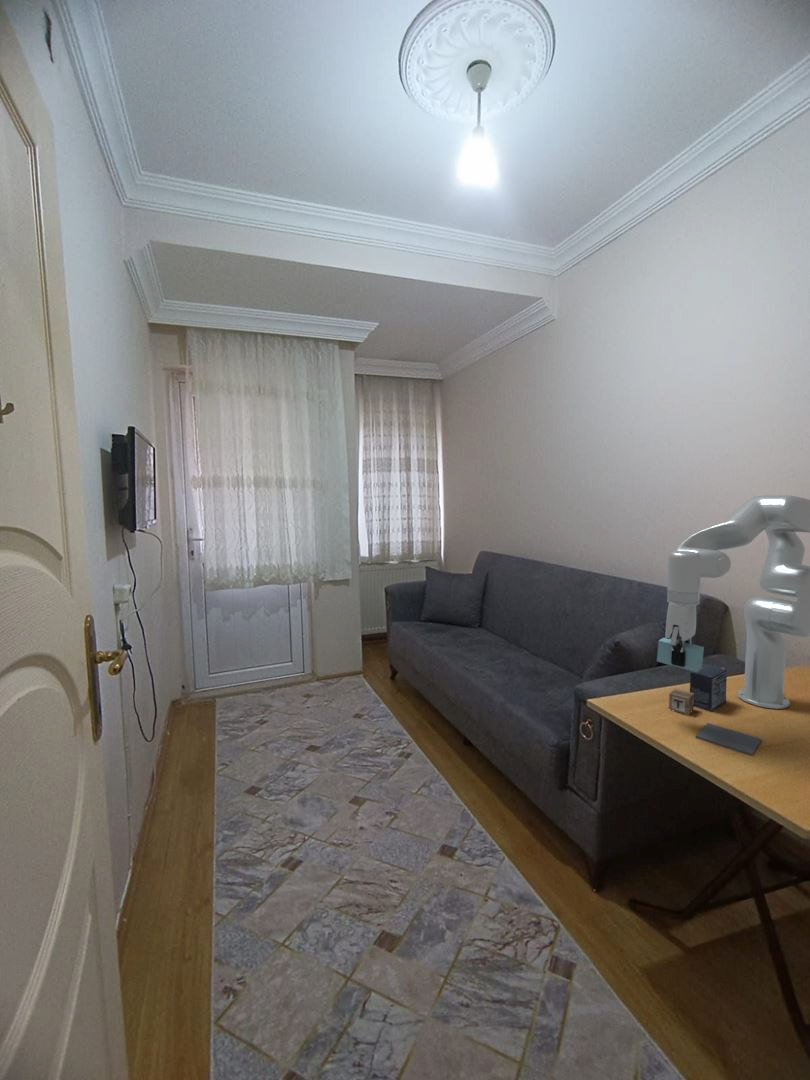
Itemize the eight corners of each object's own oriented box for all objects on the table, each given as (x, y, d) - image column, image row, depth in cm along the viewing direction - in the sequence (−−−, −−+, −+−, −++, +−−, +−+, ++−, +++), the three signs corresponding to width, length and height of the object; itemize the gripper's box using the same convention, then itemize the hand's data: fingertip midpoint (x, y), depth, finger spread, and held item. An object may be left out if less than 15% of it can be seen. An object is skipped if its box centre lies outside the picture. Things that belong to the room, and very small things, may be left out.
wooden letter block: (674, 704, 143) (675, 688, 142) (693, 709, 139) (694, 693, 139) (668, 710, 139) (668, 693, 139) (687, 716, 136) (688, 699, 135)
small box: (703, 695, 149) (704, 662, 148) (726, 702, 144) (728, 668, 143) (687, 704, 143) (689, 670, 142) (711, 712, 137) (713, 676, 136)
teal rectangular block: (662, 657, 136) (663, 637, 135) (701, 668, 128) (704, 646, 128) (656, 661, 133) (658, 640, 132) (697, 672, 126) (699, 650, 125)
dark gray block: (707, 724, 130) (707, 722, 130) (761, 740, 121) (761, 738, 121) (695, 737, 123) (695, 735, 123) (752, 755, 115) (752, 753, 115)
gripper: (678, 590, 137) (676, 652, 139) (656, 600, 126) (654, 667, 127) (708, 594, 131) (706, 658, 133) (688, 604, 120) (686, 675, 122)
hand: (681, 662), depth 130 cm, fingers closed on teal rectangular block, 4 cm apart
